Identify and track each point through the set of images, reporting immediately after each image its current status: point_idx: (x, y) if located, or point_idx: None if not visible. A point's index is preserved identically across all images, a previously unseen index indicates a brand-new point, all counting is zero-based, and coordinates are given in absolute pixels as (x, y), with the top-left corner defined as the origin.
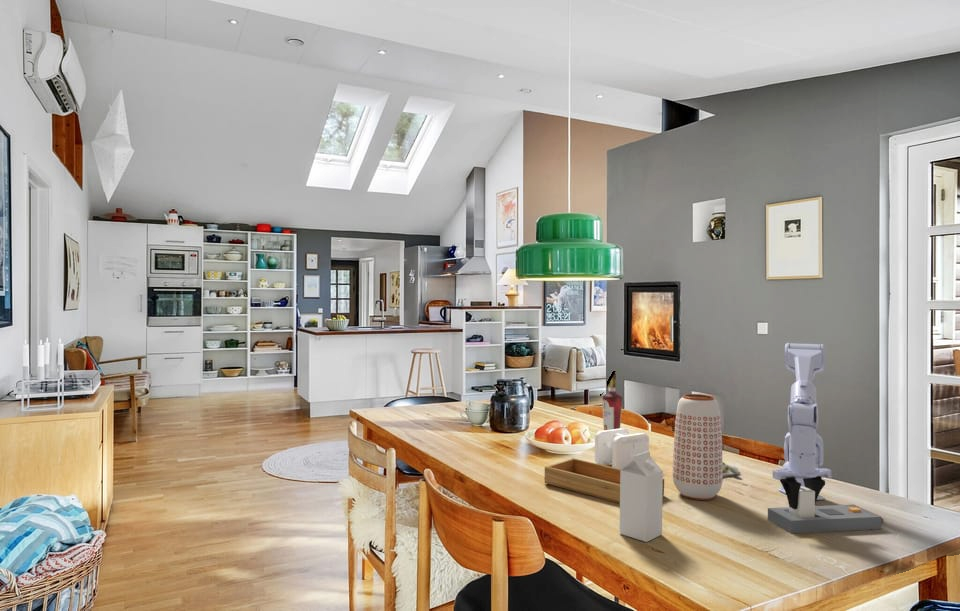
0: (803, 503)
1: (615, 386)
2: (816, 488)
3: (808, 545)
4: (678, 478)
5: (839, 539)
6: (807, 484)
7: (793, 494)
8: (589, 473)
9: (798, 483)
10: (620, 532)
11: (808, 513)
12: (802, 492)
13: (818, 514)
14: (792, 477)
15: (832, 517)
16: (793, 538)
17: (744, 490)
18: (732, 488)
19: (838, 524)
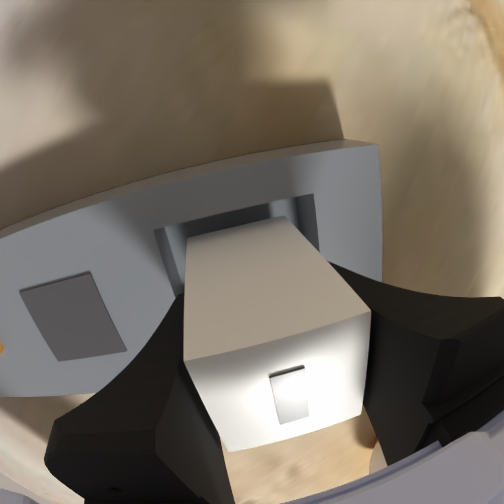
0: (290, 265)
1: None
2: (166, 384)
3: (332, 6)
4: None
5: (132, 77)
6: (216, 460)
7: (405, 290)
8: None
9: (483, 326)
10: None
11: (232, 244)
12: (340, 314)
13: (151, 275)
14: (471, 431)
15: (86, 232)
16: (360, 81)
17: (270, 484)
18: (293, 485)
19: (72, 205)
